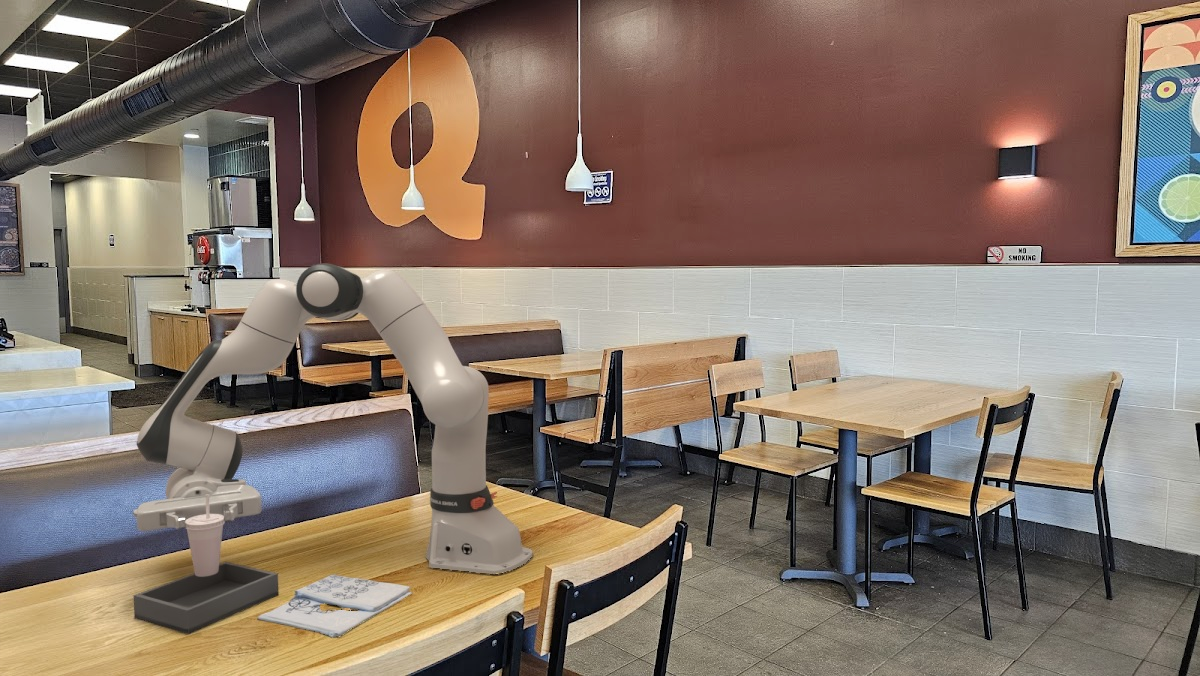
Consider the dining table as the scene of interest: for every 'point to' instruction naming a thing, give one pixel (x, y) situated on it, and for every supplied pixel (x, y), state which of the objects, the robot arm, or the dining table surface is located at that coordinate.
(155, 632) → the dining table surface
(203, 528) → the smoothie
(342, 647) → the dining table surface
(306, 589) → the folded bicycle print cloth
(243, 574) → the tray
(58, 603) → the dining table surface
